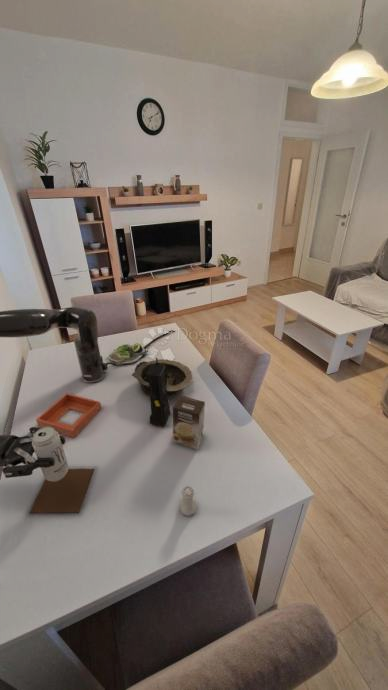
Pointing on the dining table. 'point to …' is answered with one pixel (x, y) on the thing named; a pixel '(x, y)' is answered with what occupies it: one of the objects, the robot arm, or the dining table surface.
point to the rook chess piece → (187, 501)
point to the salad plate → (127, 353)
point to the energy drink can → (50, 453)
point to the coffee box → (188, 422)
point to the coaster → (63, 493)
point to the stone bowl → (175, 375)
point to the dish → (62, 407)
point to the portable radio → (158, 394)
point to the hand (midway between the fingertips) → (59, 450)
